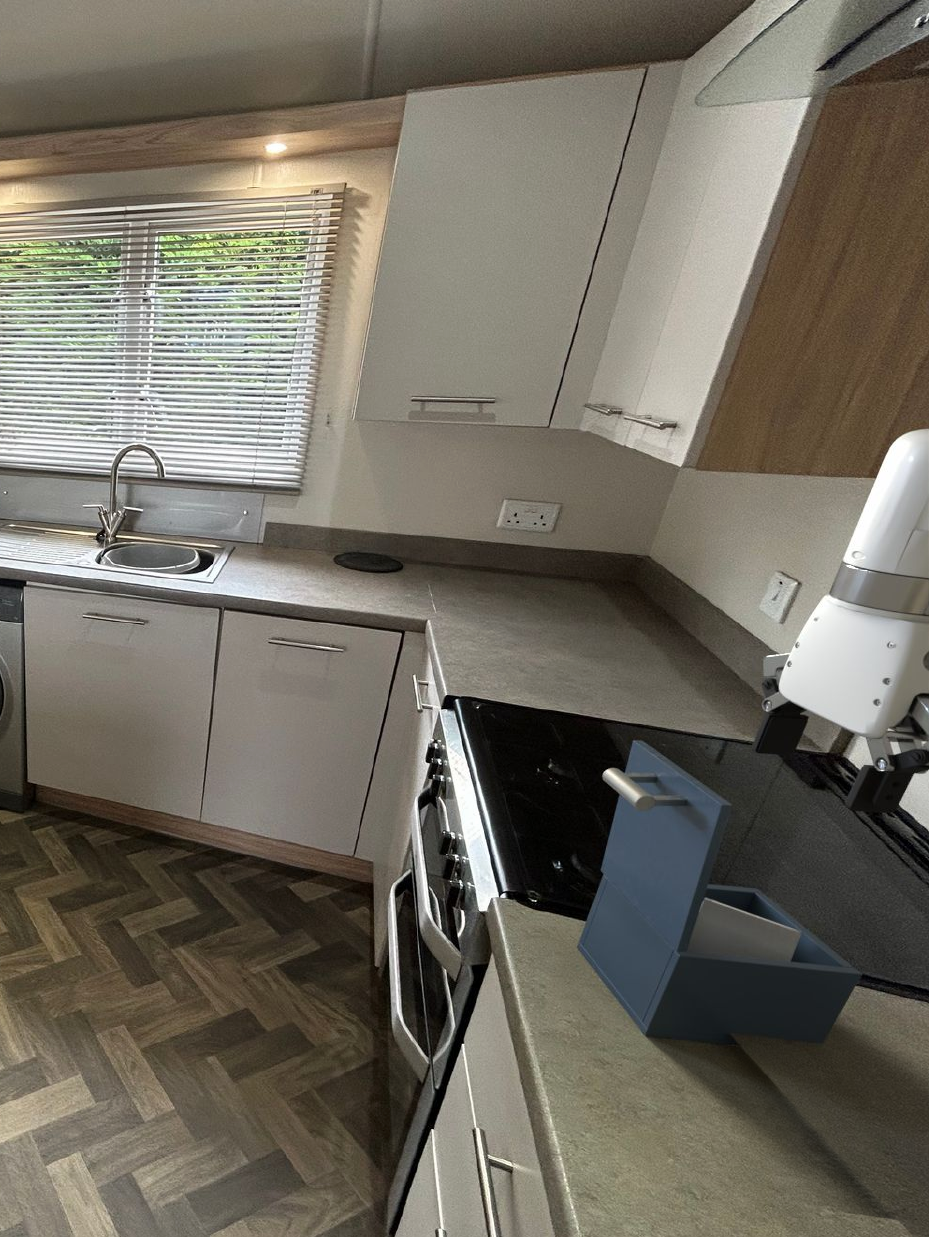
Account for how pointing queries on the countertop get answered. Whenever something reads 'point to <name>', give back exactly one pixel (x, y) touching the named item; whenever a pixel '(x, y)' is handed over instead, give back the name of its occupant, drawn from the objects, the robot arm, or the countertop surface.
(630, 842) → the bin lid
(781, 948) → the grey rectangular block
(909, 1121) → the countertop surface
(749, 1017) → the waste bin
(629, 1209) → the countertop surface
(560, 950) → the countertop surface
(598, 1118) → the countertop surface
